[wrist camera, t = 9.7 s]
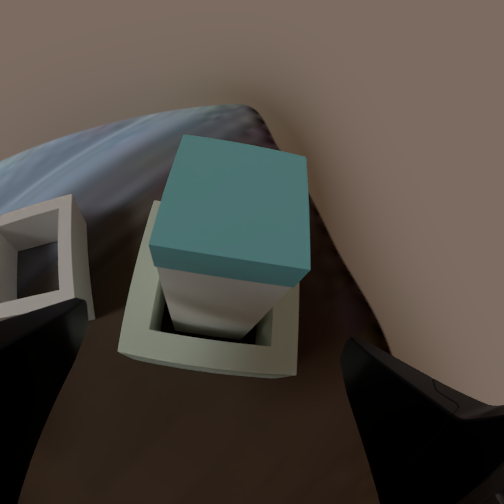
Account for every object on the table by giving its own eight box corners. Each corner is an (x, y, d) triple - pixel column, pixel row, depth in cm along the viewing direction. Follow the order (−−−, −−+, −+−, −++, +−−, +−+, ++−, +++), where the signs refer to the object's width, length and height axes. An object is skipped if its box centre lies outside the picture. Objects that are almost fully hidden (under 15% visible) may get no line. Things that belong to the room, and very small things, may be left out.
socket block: (274, 378, 18) (296, 375, 14) (134, 359, 17) (117, 351, 13) (280, 254, 23) (299, 224, 19) (159, 235, 21) (154, 200, 17)
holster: (95, 319, 18) (75, 302, 14) (10, 335, 15) (-19, 321, 12) (86, 223, 21) (71, 193, 17) (10, 243, 18) (-12, 219, 15)
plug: (241, 340, 19) (310, 269, 8) (174, 331, 19) (148, 244, 8) (246, 279, 21) (305, 157, 10) (184, 269, 21) (183, 134, 10)
